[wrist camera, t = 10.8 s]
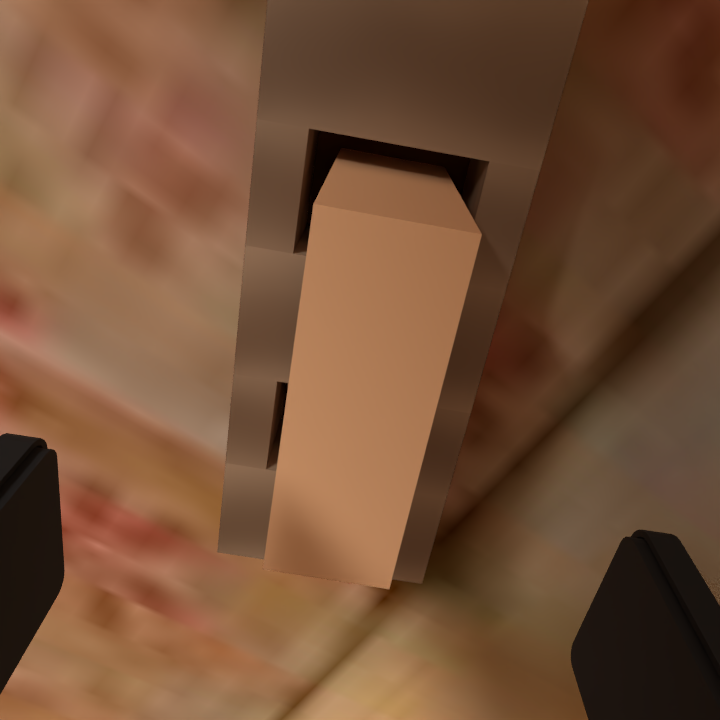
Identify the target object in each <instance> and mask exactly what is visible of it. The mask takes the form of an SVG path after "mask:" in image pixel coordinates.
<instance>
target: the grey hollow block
mask: <svg viewBox="0 0 720 720" xmlns="http://www.w3.org/2000/svg"><path fill="white" fill-rule="evenodd" d="M588 2H589V0H267V11H266V22H265V33H264V44H263V55H262V66H261V77H260V89H259V100H258V111H257V122H256V133H255V144H254V155H253V166H252V177H251V188H250V199H249V210H248V221H247V232H246V243H245V254H244V265H243V276H242V287H241V298H240V309H239V320H238V331H237V342H236V353H235V364H234V375H233V386H232V397H231V408H230V419H229V430H228V441H227V452H226V463H225V474H224V485H223V496H222V507H221V518H220V529H219V540H218V551H217V552H219V553H226V554H232V555H239V556H245V557H252V558H258V559H264V556H265V549H266V542H267V534H268V527H269V520H270V513H271V506H272V498H273V491H274V484H275V477H276V470H277V463H278V455H279V448H280V441H281V434H282V427H283V419H281V413H282V406H283V398H284V391H285V383H289V376H290V369H291V362H292V355H293V347H294V340H295V333H296V326H297V319H298V311H299V304H300V297H301V290H302V283H303V275H304V268H305V261H306V254H307V247H308V239H309V232H310V227H309V226H306V224H307V217H308V209H309V202H310V194H311V187H312V179H313V172H314V164H315V157H316V149H317V141H318V134H319V130H320V131H326V132H331V133H337V134H342V135H347V136H353V137H358V138H364V139H369V140H375V141H380V142H386V143H391V144H397V145H402V146H408V147H413V148H419V149H424V150H430V151H435V152H441V153H446V154H451V155H457V156H462V157H468V158H471V159H470V163H469V167H468V171H467V175H466V180H465V184H464V188H463V192H462V197H461V198H462V200H463V201H464V203H465V205H466V207H467V209H468V210H469V212H470V214H471V216H472V218H473V219H474V221H475V223H476V225H477V226H478V228H479V230H480V232H481V234H482V236H481V240H480V244H479V248H478V251H477V255H476V259H475V263H474V267H473V270H472V274H471V278H470V282H469V286H468V290H467V293H466V297H465V301H464V305H463V309H462V313H461V316H460V320H459V324H458V328H457V332H456V335H455V339H454V343H453V347H452V351H451V355H450V358H449V362H448V366H447V370H446V374H445V378H444V381H443V385H442V389H441V393H440V397H439V401H438V404H437V408H436V412H435V416H434V420H433V423H432V427H431V431H430V435H429V439H428V443H427V446H426V450H425V454H424V458H423V462H422V466H421V469H420V473H419V477H418V481H417V485H416V488H415V492H414V496H413V500H412V504H411V508H410V511H409V515H408V519H407V523H406V527H405V531H404V534H403V538H402V542H401V546H400V550H399V554H398V557H397V561H396V565H395V569H394V573H393V576H392V579H394V580H401V581H407V582H414V583H420V584H422V582H423V578H424V575H425V571H426V568H427V564H428V561H429V557H430V554H431V550H432V547H433V543H434V540H435V536H436V533H437V529H438V526H439V522H440V519H441V515H442V512H443V508H444V505H445V501H446V498H447V494H448V491H449V487H450V484H451V480H452V477H453V473H454V470H455V466H456V463H457V459H458V456H459V452H460V449H461V445H462V442H463V438H464V435H465V431H466V428H467V424H468V421H469V417H470V414H471V410H472V407H473V403H474V400H475V396H476V393H477V389H478V386H479V383H480V379H481V376H482V372H483V369H484V365H485V362H486V358H487V355H488V351H489V348H490V344H491V341H492V337H493V334H494V330H495V327H496V323H497V320H498V316H499V313H500V309H501V306H502V302H503V299H504V295H505V292H506V288H507V285H508V281H509V278H510V274H511V271H512V267H513V264H514V260H515V257H516V253H517V250H518V246H519V243H520V239H521V236H522V232H523V229H524V225H525V222H526V218H527V215H528V211H529V208H530V204H531V201H532V197H533V194H534V190H535V187H536V183H537V180H538V176H539V173H540V169H541V166H542V162H543V159H544V155H545V152H546V148H547V145H548V141H549V138H550V134H551V131H552V127H553V124H554V120H555V117H556V113H557V110H558V106H559V103H560V99H561V96H562V92H563V89H564V85H565V82H566V78H567V75H568V71H569V68H570V64H571V61H572V57H573V54H574V50H575V47H576V43H577V40H578V36H579V33H580V29H581V26H582V23H583V19H584V16H585V12H586V9H587V5H588Z"/></svg>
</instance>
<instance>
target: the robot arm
mask: <svg viewBox="0 0 720 720" xmlns="http://www.w3.org/2000/svg"><path fill="white" fill-rule="evenodd" d="M63 579H64V556H63V541H62V525H61V509H60V494H59V478H58V463H57V454H56V452H55V450H52V449H47V444H46V442H45V440H43V439H41V438H35V437H28V436H22V435H15V434H9V433H6V434H2V435H1V436H0V694H1V692H2V690H3V689H4V687H5V685H6V684H7V682H8V680H9V678H10V677H11V675H12V673H13V672H14V670H15V668H16V666H17V665H18V663H19V661H20V660H21V658H22V656H23V654H24V653H25V651H26V649H27V647H28V646H29V644H30V642H31V641H32V639H33V637H34V635H35V634H36V632H37V630H38V629H39V627H40V625H41V623H42V622H43V620H44V618H45V617H46V615H47V613H48V611H49V610H50V608H51V606H52V604H53V603H54V601H55V599H56V598H57V596H58V594H59V592H60V589H61V587H62V583H63ZM571 663H572V668H573V671H574V674H575V677H576V681H577V684H578V687H579V690H580V694H581V697H582V700H583V703H584V706H585V710H586V713H587V716H588V719H589V720H720V606H719V604H718V602H717V601H716V599H715V597H714V596H713V594H712V592H711V591H710V589H709V588H708V586H707V584H706V583H705V581H704V579H703V578H702V576H701V574H700V573H699V571H698V569H697V568H696V566H695V564H694V563H693V561H692V559H691V558H690V556H689V554H688V553H687V551H686V550H685V548H684V546H683V545H682V543H681V541H680V540H679V539H678V538H677V537H676V536H674V535H672V534H667V533H660V532H653V531H647V530H637V531H635V532H634V533H633V534H632V536H631V537H625V538H623V540H622V541H621V543H620V545H619V547H618V549H617V551H616V553H615V555H614V557H613V560H612V562H611V564H610V566H609V568H608V570H607V572H606V574H605V576H604V578H603V581H602V583H601V585H600V587H599V589H598V591H597V593H596V595H595V597H594V600H593V602H592V604H591V606H590V608H589V610H588V612H587V614H586V616H585V619H584V621H583V623H582V625H581V627H580V629H579V631H578V633H577V635H576V638H575V640H574V642H573V645H572V649H571Z"/></svg>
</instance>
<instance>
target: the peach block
mask: <svg viewBox="0 0 720 720" xmlns="http://www.w3.org/2000/svg"><path fill="white" fill-rule="evenodd" d="M481 236H482V234H481V232H480V230H479V228H478V226H477V225H476V223H475V221H474V219H473V218H472V216H471V214H470V212H469V210H468V209H467V207H466V205H465V203H464V201H463V200H462V198H461V196H460V194H459V192H458V191H457V189H456V187H455V185H454V183H453V182H452V180H451V178H450V176H449V174H448V173H447V171H446V169H445V167H442V166H436V165H431V164H425V163H420V162H415V161H409V160H404V159H398V158H393V157H388V156H382V155H377V154H372V153H366V152H361V151H355V150H350V149H345V148H341V150H340V152H339V154H338V156H337V158H336V160H335V162H334V164H333V166H332V168H331V170H330V172H329V174H328V176H327V178H326V180H325V182H324V184H323V186H322V188H321V190H320V192H319V194H318V196H317V198H316V200H315V202H314V204H313V211H312V218H311V225H310V232H309V239H308V247H307V254H306V261H305V268H304V275H303V283H302V290H301V297H300V304H299V311H298V319H297V326H296V333H295V340H294V347H293V355H292V362H291V369H290V376H289V383H288V391H287V398H286V405H285V412H284V419H283V427H282V434H281V441H280V448H279V455H278V463H277V470H276V477H275V484H274V491H273V498H272V506H271V513H270V520H269V527H268V534H267V542H266V549H265V556H264V563H263V570H270V571H276V572H283V573H289V574H295V575H302V576H308V577H315V578H321V579H327V580H334V581H340V582H347V583H353V584H359V585H366V586H372V587H379V588H385V589H389V588H390V584H391V580H392V576H393V573H394V569H395V565H396V561H397V557H398V554H399V550H400V546H401V542H402V538H403V534H404V531H405V527H406V523H407V519H408V515H409V511H410V508H411V504H412V500H413V496H414V492H415V488H416V485H417V481H418V477H419V473H420V469H421V466H422V462H423V458H424V454H425V450H426V446H427V443H428V439H429V435H430V431H431V427H432V423H433V420H434V416H435V412H436V408H437V404H438V401H439V397H440V393H441V389H442V385H443V381H444V378H445V374H446V370H447V366H448V362H449V358H450V355H451V351H452V347H453V343H454V339H455V335H456V332H457V328H458V324H459V320H460V316H461V313H462V309H463V305H464V301H465V297H466V293H467V290H468V286H469V282H470V278H471V274H472V270H473V267H474V263H475V259H476V255H477V251H478V248H479V244H480V240H481Z"/></svg>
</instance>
